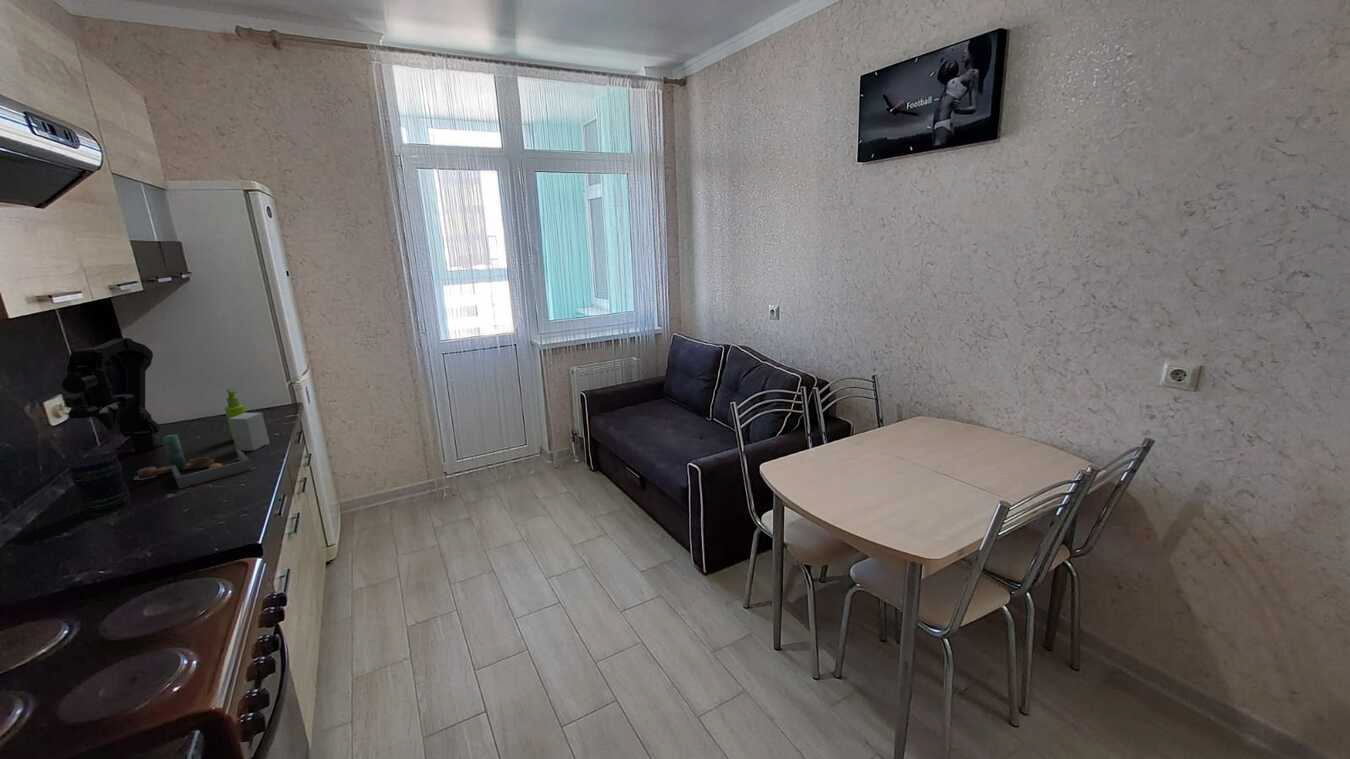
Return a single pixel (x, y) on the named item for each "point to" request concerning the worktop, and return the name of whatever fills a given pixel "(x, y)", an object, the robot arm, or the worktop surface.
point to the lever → (175, 459)
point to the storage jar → (99, 483)
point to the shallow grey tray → (212, 472)
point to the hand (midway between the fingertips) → (111, 429)
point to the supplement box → (249, 431)
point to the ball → (215, 465)
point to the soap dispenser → (233, 406)
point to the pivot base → (146, 477)
